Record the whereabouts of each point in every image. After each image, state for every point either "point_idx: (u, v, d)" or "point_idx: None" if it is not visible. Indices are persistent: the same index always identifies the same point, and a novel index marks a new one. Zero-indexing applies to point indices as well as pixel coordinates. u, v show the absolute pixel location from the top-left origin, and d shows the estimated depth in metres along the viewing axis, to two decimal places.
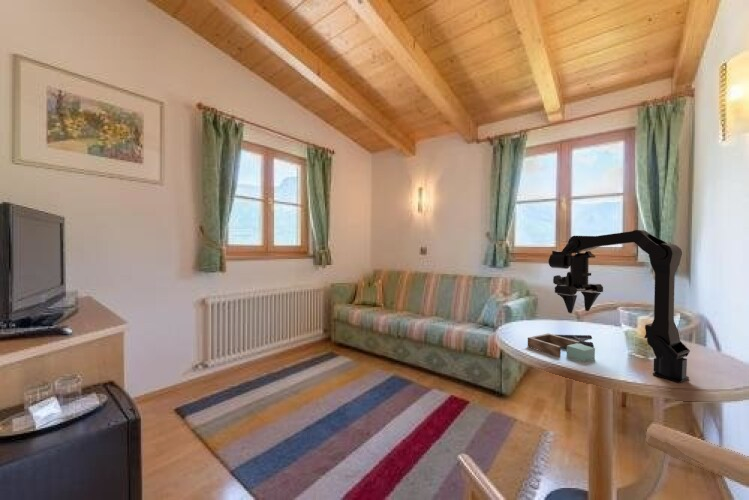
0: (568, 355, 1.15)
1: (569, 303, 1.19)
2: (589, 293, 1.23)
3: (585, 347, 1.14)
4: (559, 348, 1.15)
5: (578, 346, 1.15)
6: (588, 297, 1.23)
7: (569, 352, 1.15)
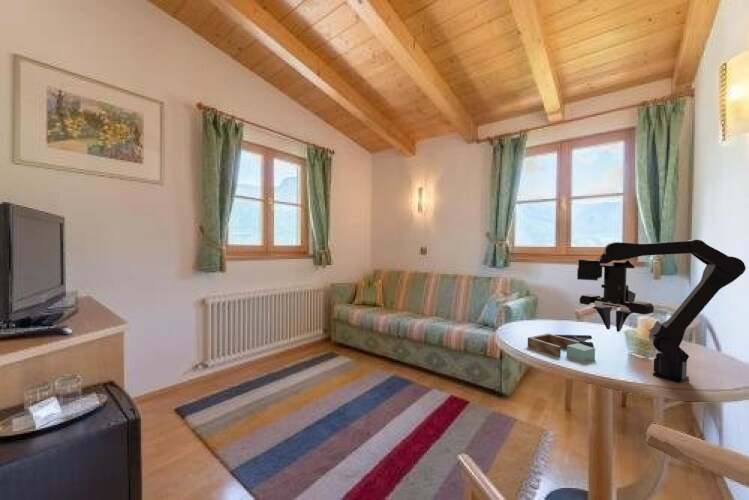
0: (568, 355, 1.15)
1: None
2: None
3: (585, 347, 1.14)
4: (559, 348, 1.15)
5: (578, 346, 1.15)
6: None
7: (569, 352, 1.15)
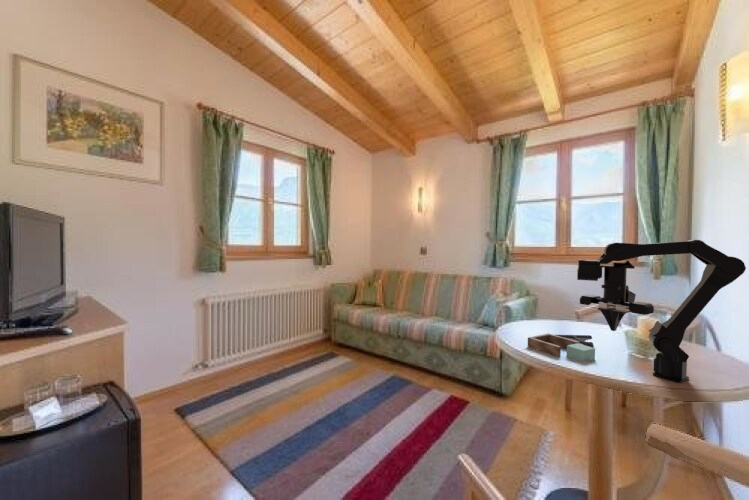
0: (567, 355, 1.15)
1: None
2: None
3: (585, 347, 1.14)
4: (559, 348, 1.15)
5: (578, 346, 1.15)
6: None
7: (569, 352, 1.15)
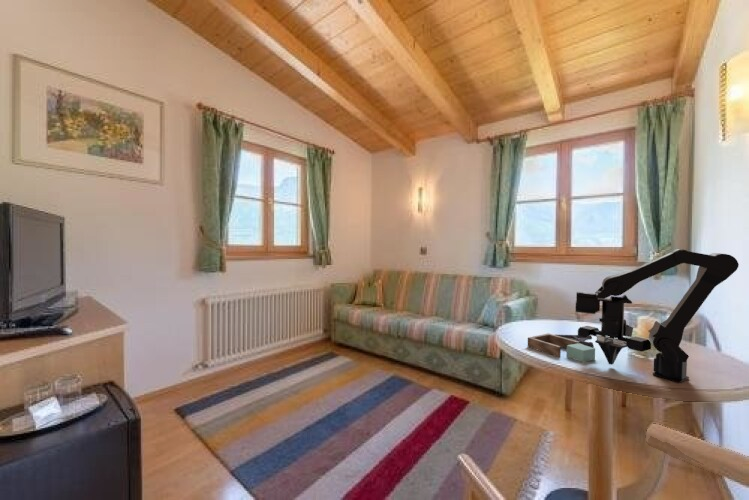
0: (567, 355, 1.15)
1: None
2: None
3: (585, 347, 1.14)
4: (559, 348, 1.15)
5: (578, 346, 1.15)
6: None
7: (569, 352, 1.15)
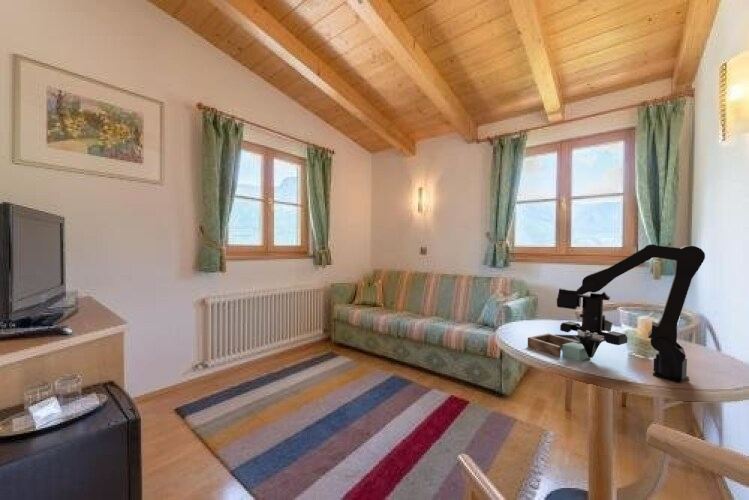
0: (563, 354, 1.16)
1: None
2: None
3: (580, 346, 1.15)
4: (559, 348, 1.15)
5: (574, 345, 1.16)
6: None
7: (565, 351, 1.16)
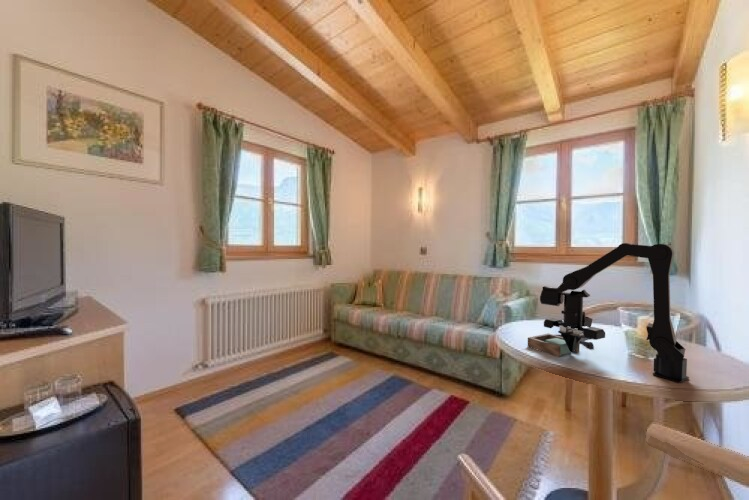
0: None
1: None
2: None
3: (562, 341, 1.20)
4: (559, 348, 1.15)
5: (556, 340, 1.22)
6: None
7: None
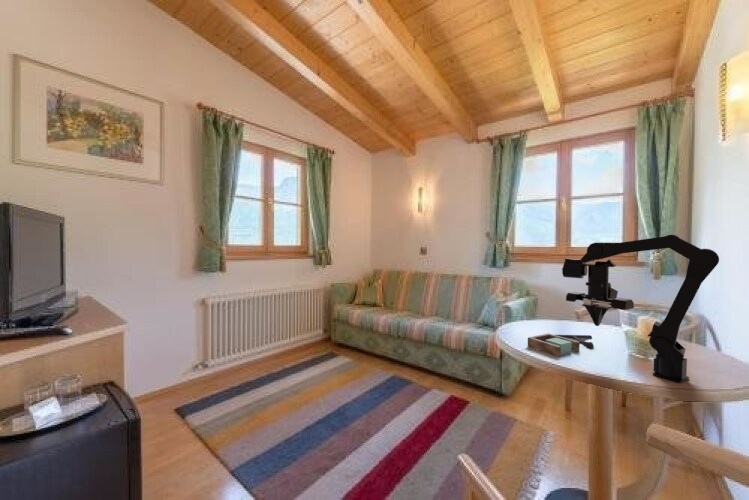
0: None
1: None
2: None
3: (562, 341, 1.20)
4: (559, 348, 1.15)
5: (556, 340, 1.22)
6: None
7: None
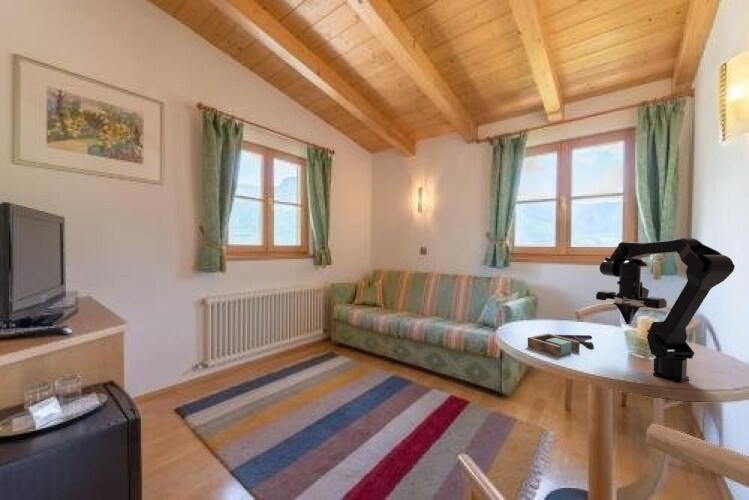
0: None
1: None
2: None
3: (562, 341, 1.20)
4: (559, 348, 1.15)
5: (556, 340, 1.22)
6: None
7: None
